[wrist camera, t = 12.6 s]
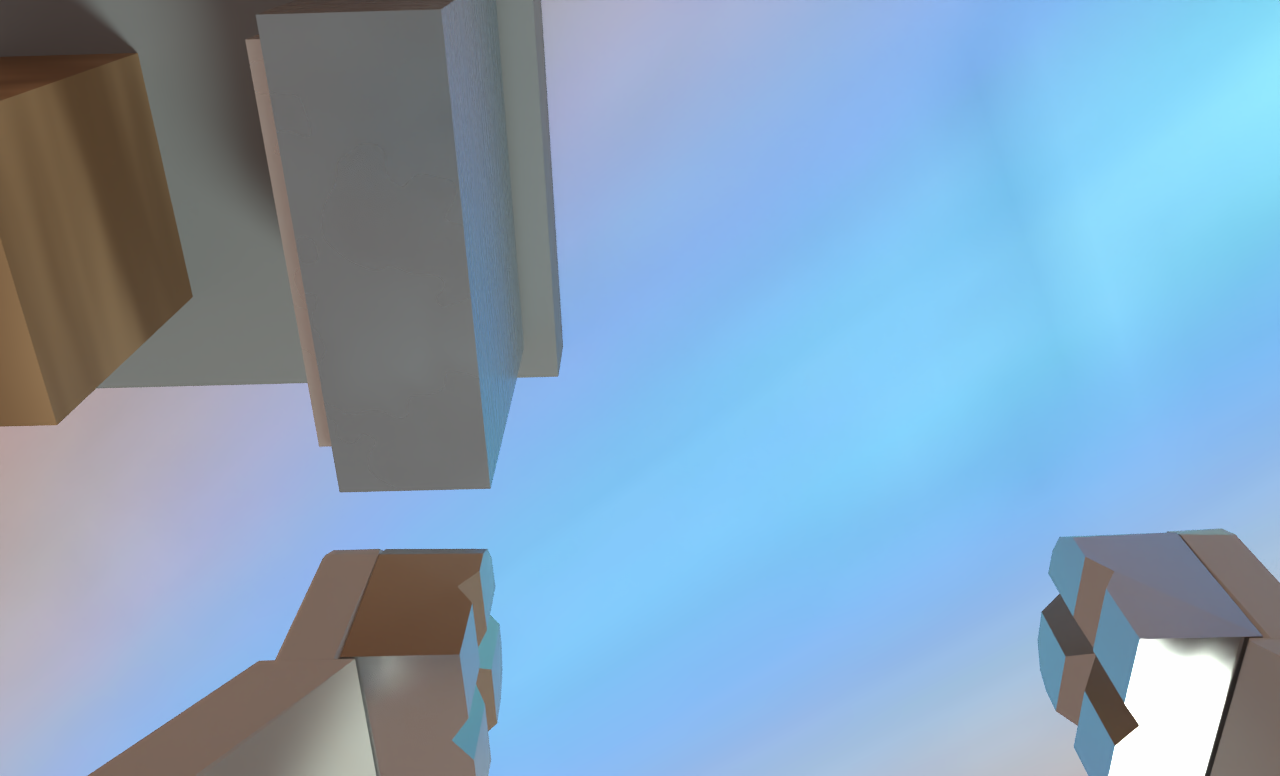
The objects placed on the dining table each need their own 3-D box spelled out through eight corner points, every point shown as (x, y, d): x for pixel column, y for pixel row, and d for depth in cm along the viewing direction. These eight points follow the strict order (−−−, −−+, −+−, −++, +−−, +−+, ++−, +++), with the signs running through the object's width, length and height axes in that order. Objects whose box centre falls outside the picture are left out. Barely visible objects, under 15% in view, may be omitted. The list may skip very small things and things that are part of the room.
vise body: (536, -80, 25) (487, -61, 17) (563, 346, 30) (535, 522, 22) (-387, -54, 25) (-875, -22, 17) (-212, 366, 30) (-527, 547, 22)
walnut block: (137, 52, 24) (-37, 114, 18) (192, 297, 27) (56, 424, 21) (-14, 57, 24) (-242, 119, 18) (56, 300, 27) (-121, 429, 21)
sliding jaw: (493, -26, 23) (440, 8, 17) (524, 347, 27) (490, 488, 21) (331, -22, 23) (218, 15, 17) (385, 350, 27) (309, 493, 21)
